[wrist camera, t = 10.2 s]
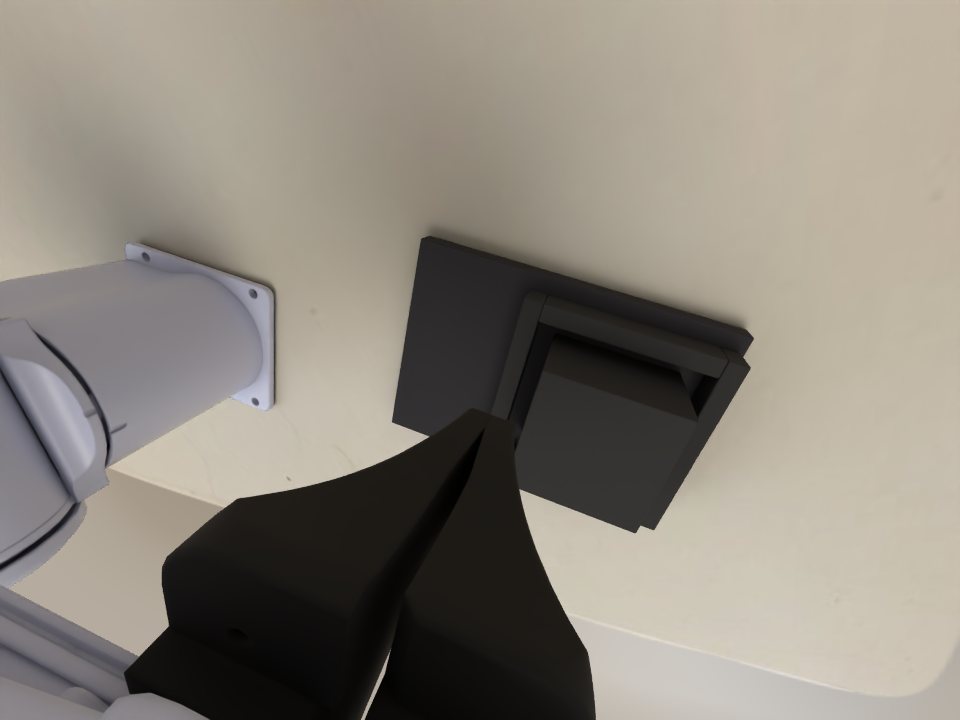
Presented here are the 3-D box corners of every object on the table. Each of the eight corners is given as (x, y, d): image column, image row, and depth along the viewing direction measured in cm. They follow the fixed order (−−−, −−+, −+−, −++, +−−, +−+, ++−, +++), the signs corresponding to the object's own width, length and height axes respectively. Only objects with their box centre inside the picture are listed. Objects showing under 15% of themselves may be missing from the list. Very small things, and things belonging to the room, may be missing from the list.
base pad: (399, 413, 23) (377, 437, 21) (429, 235, 19) (405, 242, 17) (648, 505, 21) (652, 543, 19) (747, 329, 17) (768, 352, 15)
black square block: (522, 431, 20) (504, 483, 17) (555, 332, 18) (542, 370, 15) (631, 470, 20) (636, 534, 16) (681, 372, 17) (699, 422, 14)
